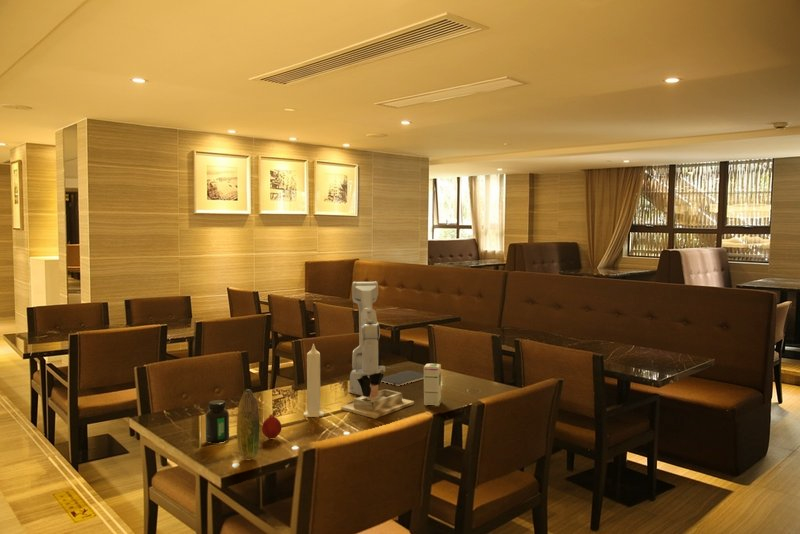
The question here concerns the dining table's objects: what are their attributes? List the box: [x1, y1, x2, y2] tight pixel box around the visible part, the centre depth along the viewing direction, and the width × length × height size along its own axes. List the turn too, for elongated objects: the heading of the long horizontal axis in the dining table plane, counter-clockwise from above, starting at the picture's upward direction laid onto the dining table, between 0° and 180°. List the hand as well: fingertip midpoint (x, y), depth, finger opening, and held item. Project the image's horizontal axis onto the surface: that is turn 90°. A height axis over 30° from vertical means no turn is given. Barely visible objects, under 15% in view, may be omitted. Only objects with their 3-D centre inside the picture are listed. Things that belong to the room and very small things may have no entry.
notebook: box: [380, 369, 424, 387], centre depth 258 cm, size 13×2×21 cm
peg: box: [364, 383, 380, 401], centre depth 214 cm, size 5×5×8 cm
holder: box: [340, 388, 415, 419], centre depth 217 cm, size 22×16×4 cm
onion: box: [261, 413, 282, 439], centre depth 183 cm, size 6×6×8 cm
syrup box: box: [423, 363, 442, 407], centre depth 221 cm, size 6×6×14 cm
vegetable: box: [236, 388, 261, 460], centre depth 167 cm, size 6×6×20 cm
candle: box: [303, 343, 325, 418], centre depth 207 cm, size 7×7×25 cm
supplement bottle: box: [204, 399, 230, 443], centre depth 182 cm, size 7×7×12 cm
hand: (370, 395), depth 214 cm, fingers closed on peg, 4 cm apart
